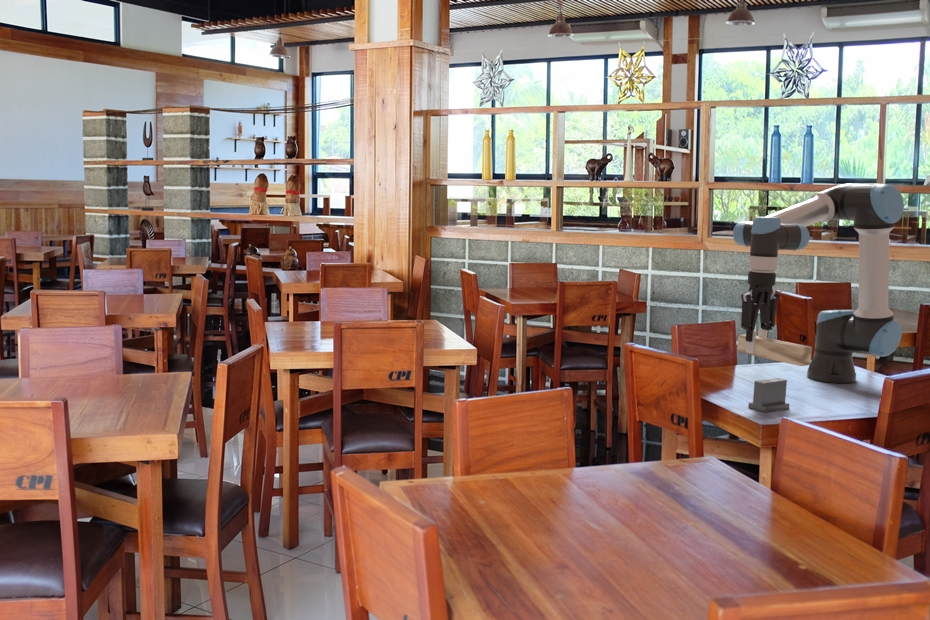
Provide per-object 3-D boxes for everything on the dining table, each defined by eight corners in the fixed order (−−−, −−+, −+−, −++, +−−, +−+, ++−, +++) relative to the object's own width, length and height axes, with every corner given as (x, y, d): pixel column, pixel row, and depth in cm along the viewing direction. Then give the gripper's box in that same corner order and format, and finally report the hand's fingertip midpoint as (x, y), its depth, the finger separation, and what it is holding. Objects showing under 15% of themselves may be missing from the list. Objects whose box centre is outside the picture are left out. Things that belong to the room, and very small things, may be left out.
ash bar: (746, 351, 266) (747, 334, 265) (810, 365, 248) (812, 346, 247) (737, 351, 264) (738, 334, 263) (800, 366, 245) (802, 347, 245)
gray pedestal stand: (771, 404, 263) (774, 376, 262) (789, 408, 258) (791, 381, 257) (748, 407, 257) (750, 380, 256) (765, 412, 252) (767, 384, 251)
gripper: (771, 269, 265) (765, 348, 268) (731, 270, 256) (724, 352, 259) (793, 271, 259) (786, 352, 262) (752, 273, 250) (745, 356, 253)
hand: (755, 352), depth 261 cm, fingers closed on ash bar, 4 cm apart
